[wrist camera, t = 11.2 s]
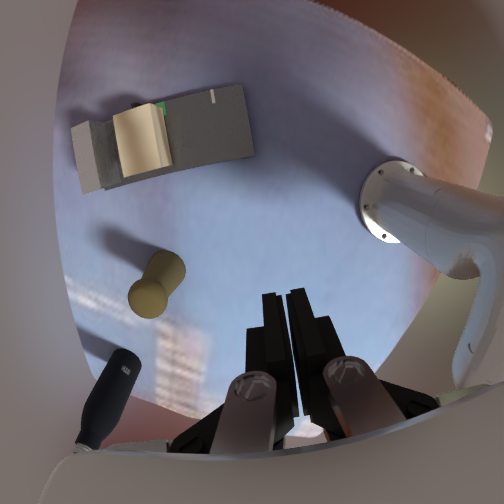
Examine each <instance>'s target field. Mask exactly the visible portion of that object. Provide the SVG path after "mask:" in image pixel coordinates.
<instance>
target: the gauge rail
mask: <svg viewBox="0 0 504 504" xmlns="http://www.w3.org/2000/svg"><path fill="white" fill-rule="evenodd" d="M153 105H156V106H158V107H160V108H162V109H163V115H164V121H165V127H166V132H167V138H168V143H169V149H170V154H171V159H172V164H173V165H170V166H166V167H162V168H158V169H154V170H151V171H147V172H143V173H140V174H136V175H132V176H128V177H124V176H123V171H122V166H121V161H120V156H119V151H118V145H117V140H116V134H115V127H114V121H113V119H110V120H107V121H105V122H100V121H91V120H88V121H86V122H83V123H81V124H79V125H77V126H75V127H73V128H71V135H72V141H73V148H74V154H75V159H76V165H77V170H78V175H79V180H80V184H81V189H82V193H83V194H86V193H89V192H92V191H95V190H98V189H102V188H105V191H106V190H109V189H112V188H116V187H119V186H123V185H126V184H130V183H133V182H137V181H141V180H145V179H148V178H152V177H156V176H160V175H164V174H168V173H172V172H177V171H181V170H185V169H190V168H195V167H199V166H204V165H209V164H214V163H219V162H224V161H230V160H235V159H241V158H247V157H253V156H255V151H254V146H253V140H252V134H251V129H250V123H249V118H248V112H247V106H246V101H245V96H244V90H243V85H242V84H238V85H233V86H227V87H222V88H217V89H211V90H207V91H203V92H198V93H194V94H190V95H186V96H182V97H178V98H175V99H171V100H167V101H163V102H159V103H156V104H153Z"/></svg>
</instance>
